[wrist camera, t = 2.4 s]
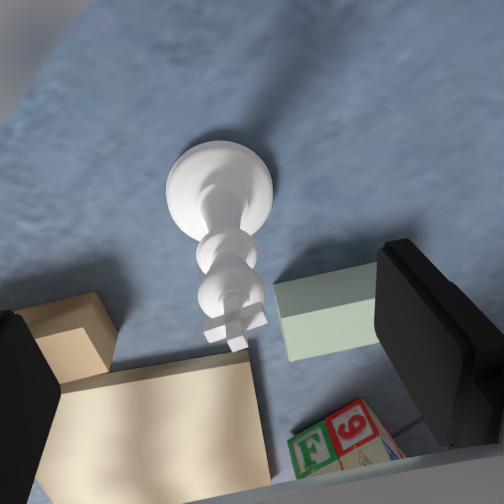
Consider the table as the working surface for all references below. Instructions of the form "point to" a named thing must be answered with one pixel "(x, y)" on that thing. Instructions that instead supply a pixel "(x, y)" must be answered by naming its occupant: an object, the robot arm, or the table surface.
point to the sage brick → (327, 311)
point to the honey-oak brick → (73, 335)
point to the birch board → (157, 435)
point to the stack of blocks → (342, 443)
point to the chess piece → (224, 232)
